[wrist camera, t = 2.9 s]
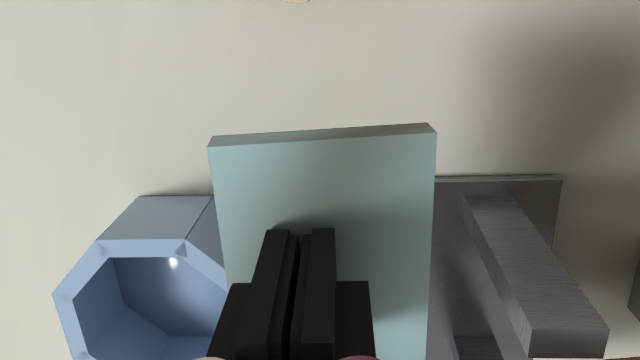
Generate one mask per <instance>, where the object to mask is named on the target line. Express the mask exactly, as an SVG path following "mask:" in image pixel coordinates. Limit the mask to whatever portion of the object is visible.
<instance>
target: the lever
mask: <svg viewBox="0 0 640 360" xmlns="http://www.w3.org/2000/svg"><path fill="white" fill-rule="evenodd" d="M436 142H437V132H436V131H435V130H434V129H433V128H432V127H431V126H430V125H429V124H428V123H412V124H396V125H380V126H364V127H349V128H333V129H317V130H301V131H285V132H270V133H254V134H238V135H222V136H212V138H211V140H210V142H209V144H208V146H207V151H208V158H209V165H210V171H211V178H212V185H213V192H214V198H215V205H216V212H217V219H218V226H219V232H220V239H221V246H222V253H223V259H224V266H225V273H226V280H227V287H228V292H229V289H230V287H231V285H232V284H233V283H251V281H252V277H253V274H254V271H255V267H256V264H257V260H258V257H259V253H260V250H261V247H262V243H263V240H264V236H265V233H266V230H267V229H289V230H290V234H291V235H298V237H299V248H300V258H301V251H302V244H303V236H304V234H312V228H335V245H336V271H337V281H365V280H368V283H369V292H370V302H371V312H372V321H373V331H374V341H375V351H376V358H378V359H380V360H425V357H426V337H427V318H428V298H429V278H430V259H431V239H432V220H433V200H434V181H435V161H436ZM606 360H640V357H630V358H618V359H606Z"/></svg>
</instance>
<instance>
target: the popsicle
mask: <svg viewBox="0 0 640 360" xmlns="http://www.w3.org/2000/svg"><path fill="white" fill-rule="evenodd" d="M282 1H288V2H294V3H305V2H308V1H309V0H282Z"/></svg>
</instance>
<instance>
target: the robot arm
mask: <svg viewBox="0 0 640 360" xmlns="http://www.w3.org/2000/svg"><path fill="white" fill-rule="evenodd" d="M194 360H380V359H378V358H376V351H375V341H374V331H373V321H372V312H371V302H370V292H369V283H368V280H365V281H337V271H336V245H335V228H312V234H304V236H303V244H302V251H301V258H300V248H299V237H298V235H291V234H290V230H289V229H267V230H266V233H265V236H264V240H263V243H262V247H261V250H260V253H259V257H258V260H257V264H256V267H255V271H254V274H253V277H252V281H251V283H233V284H232V285H231V287H230V289H229V292H228V295H227V298H226V301H225V304H224V306H223V309H222V312H221V315H220V318H219V320H218V323H217V326H216V329H215V332H214V334H213V337H212V340H211V343H210V346H209V349H208V351H207V354H206V357H202V358H198V359H194Z"/></svg>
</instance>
